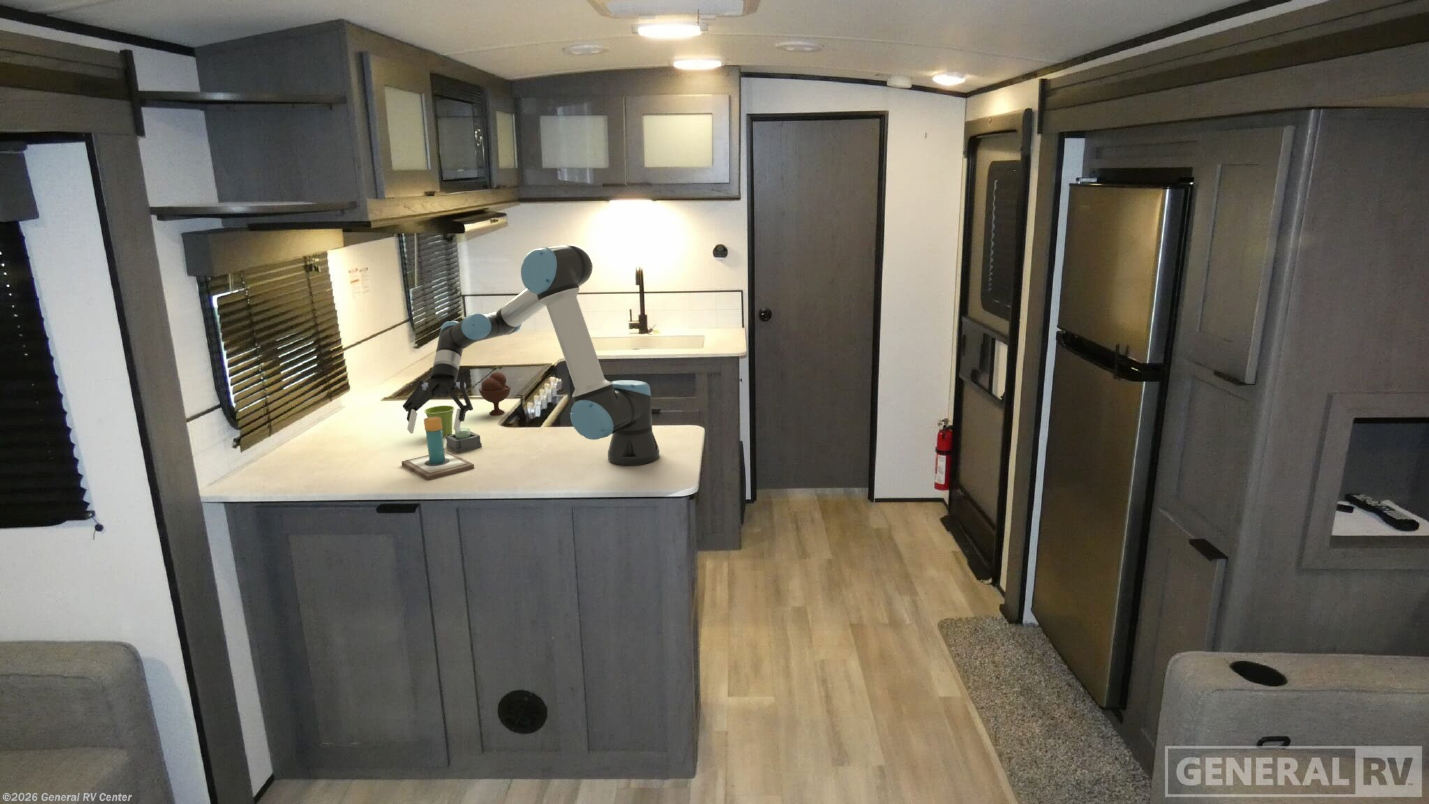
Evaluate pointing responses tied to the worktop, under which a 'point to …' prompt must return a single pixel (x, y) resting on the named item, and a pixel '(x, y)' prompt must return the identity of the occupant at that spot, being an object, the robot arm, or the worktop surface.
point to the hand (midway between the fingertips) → (433, 431)
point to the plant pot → (442, 417)
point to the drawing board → (437, 466)
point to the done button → (463, 433)
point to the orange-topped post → (434, 440)
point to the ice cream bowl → (495, 391)
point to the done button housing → (463, 442)
